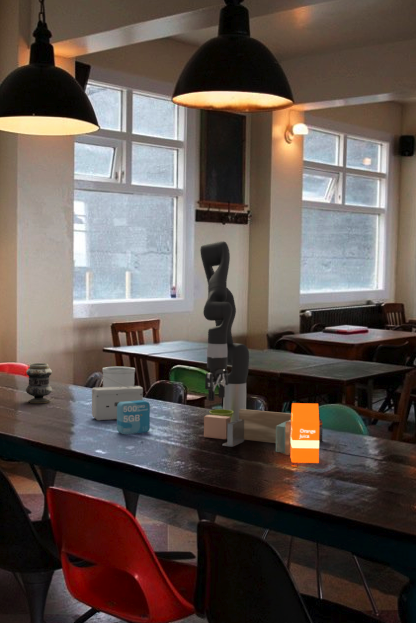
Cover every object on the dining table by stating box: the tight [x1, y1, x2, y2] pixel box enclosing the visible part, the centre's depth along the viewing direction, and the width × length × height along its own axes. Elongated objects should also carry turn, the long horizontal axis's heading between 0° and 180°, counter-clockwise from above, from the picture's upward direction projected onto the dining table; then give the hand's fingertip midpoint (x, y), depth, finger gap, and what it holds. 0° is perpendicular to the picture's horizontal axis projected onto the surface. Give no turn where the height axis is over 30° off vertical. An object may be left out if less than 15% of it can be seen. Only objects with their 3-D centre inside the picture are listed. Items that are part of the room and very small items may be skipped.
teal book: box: [275, 421, 287, 454], centre depth 292 cm, size 10×4×9 cm, turn 154°
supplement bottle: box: [319, 413, 323, 444], centre depth 307 cm, size 6×6×11 cm
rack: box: [239, 408, 291, 456], centre depth 297 cm, size 16×25×12 cm, turn 64°
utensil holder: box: [102, 366, 136, 387], centre depth 385 cm, size 15×15×18 cm
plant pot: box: [209, 408, 234, 417], centre depth 325 cm, size 9×9×9 cm
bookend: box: [222, 419, 245, 448], centre depth 301 cm, size 10×4×8 cm, turn 154°
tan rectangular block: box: [203, 414, 231, 440], centre depth 312 cm, size 4×9×9 cm, turn 64°
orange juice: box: [289, 402, 320, 467], centre depth 277 cm, size 8×9×20 cm
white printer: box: [91, 372, 144, 421], centre depth 354 cm, size 21×8×20 cm, turn 108°
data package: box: [116, 400, 151, 435], centre depth 326 cm, size 12×4×12 cm, turn 118°
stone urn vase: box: [25, 362, 53, 404], centre depth 395 cm, size 12×12×18 cm
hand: (216, 399), depth 311 cm, fingers open, 8 cm apart
